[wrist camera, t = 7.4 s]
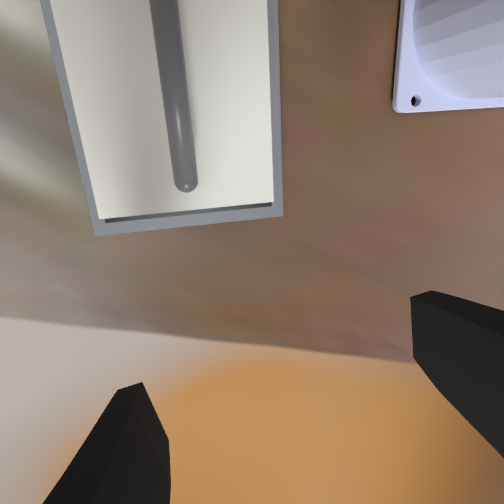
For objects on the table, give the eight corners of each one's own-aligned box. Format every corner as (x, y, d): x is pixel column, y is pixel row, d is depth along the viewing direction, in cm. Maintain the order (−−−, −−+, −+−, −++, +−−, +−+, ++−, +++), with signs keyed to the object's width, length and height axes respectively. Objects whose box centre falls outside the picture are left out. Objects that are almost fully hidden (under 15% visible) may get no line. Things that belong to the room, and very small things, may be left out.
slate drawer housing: (263, -41, 13) (276, -68, 12) (272, 206, 17) (283, 216, 15) (46, -45, 12) (22, -75, 10) (105, 223, 16) (95, 236, 14)
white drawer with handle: (229, -8, 13) (279, -144, 7) (241, 175, 16) (285, 212, 9) (94, -7, 12) (-9, -163, 6) (129, 184, 15) (87, 233, 8)
